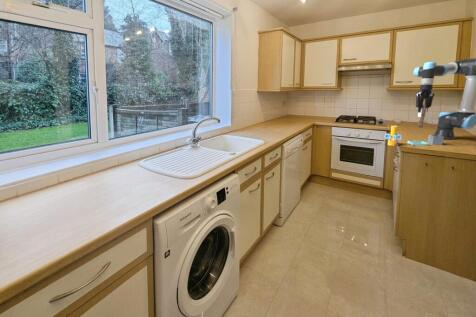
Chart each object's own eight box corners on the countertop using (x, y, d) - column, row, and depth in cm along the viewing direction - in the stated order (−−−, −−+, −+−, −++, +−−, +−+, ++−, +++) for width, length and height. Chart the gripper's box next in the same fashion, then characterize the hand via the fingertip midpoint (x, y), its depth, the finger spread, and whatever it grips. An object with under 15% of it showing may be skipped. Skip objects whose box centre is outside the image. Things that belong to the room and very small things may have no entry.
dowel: (418, 126, 211) (422, 104, 207) (423, 127, 209) (426, 104, 205) (417, 127, 210) (420, 104, 205) (421, 127, 207) (425, 104, 203)
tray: (421, 144, 217) (422, 141, 216) (428, 146, 207) (429, 143, 207) (406, 144, 218) (407, 140, 218) (412, 146, 209) (413, 143, 208)
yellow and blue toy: (402, 147, 208) (404, 127, 204) (387, 146, 210) (389, 127, 206) (396, 143, 220) (399, 125, 216) (382, 143, 222) (384, 124, 218)
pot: (436, 144, 216) (438, 134, 214) (442, 146, 209) (443, 136, 207) (427, 144, 217) (428, 134, 215) (432, 146, 210) (433, 136, 208)
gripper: (433, 84, 206) (427, 116, 212) (412, 84, 205) (408, 116, 210) (441, 84, 199) (435, 117, 204) (420, 84, 197) (415, 117, 203)
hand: (421, 116), depth 207 cm, fingers closed on dowel, 3 cm apart
